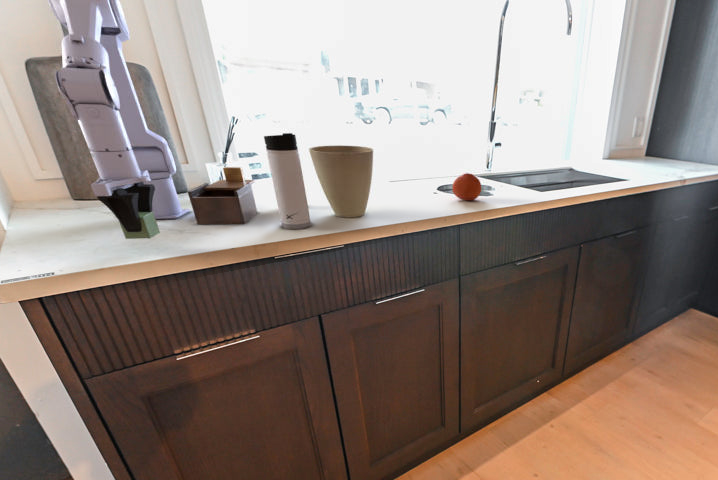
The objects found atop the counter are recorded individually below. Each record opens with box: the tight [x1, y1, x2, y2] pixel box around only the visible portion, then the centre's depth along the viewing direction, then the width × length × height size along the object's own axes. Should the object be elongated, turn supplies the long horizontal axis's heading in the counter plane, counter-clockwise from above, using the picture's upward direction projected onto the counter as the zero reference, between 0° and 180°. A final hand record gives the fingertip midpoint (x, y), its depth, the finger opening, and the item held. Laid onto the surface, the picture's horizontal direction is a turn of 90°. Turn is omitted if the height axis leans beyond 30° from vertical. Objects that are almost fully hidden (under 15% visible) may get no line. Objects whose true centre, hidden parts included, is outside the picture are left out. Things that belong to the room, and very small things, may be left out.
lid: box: [205, 166, 256, 190], centre depth 106 cm, size 8×11×4 cm
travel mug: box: [263, 132, 312, 230], centre depth 95 cm, size 6×7×20 cm
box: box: [187, 182, 258, 225], centre depth 102 cm, size 10×11×7 cm
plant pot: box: [308, 144, 374, 218], centre depth 108 cm, size 15×15×16 cm
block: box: [118, 212, 161, 240], centre depth 79 cm, size 4×4×4 cm
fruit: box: [451, 172, 482, 201], centre depth 131 cm, size 9×9×8 cm
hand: (140, 228), depth 80 cm, fingers closed on block, 4 cm apart
